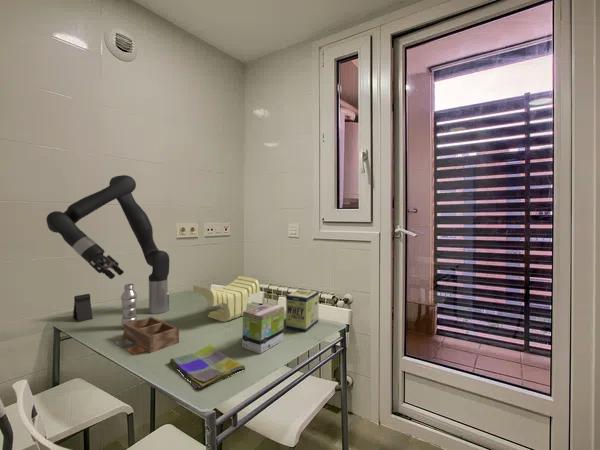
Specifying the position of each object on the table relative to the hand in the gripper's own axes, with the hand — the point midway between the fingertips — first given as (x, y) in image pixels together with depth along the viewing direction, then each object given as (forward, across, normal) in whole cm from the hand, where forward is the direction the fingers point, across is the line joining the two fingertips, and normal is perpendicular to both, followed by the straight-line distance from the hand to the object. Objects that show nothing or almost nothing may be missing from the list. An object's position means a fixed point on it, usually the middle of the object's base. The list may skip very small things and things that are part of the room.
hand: (117, 275), depth 129 cm
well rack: (+29, -9, +8) cm, 31 cm away
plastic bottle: (+20, +9, +18) cm, 28 cm away
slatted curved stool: (+50, +18, -14) cm, 55 cm away
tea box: (+63, -19, -26) cm, 70 cm away
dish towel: (+49, -34, -11) cm, 60 cm away
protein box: (+76, 0, -40) cm, 86 cm away
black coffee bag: (0, +25, +37) cm, 45 cm away
